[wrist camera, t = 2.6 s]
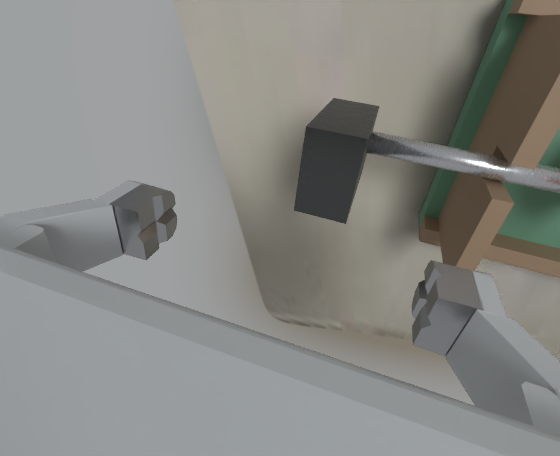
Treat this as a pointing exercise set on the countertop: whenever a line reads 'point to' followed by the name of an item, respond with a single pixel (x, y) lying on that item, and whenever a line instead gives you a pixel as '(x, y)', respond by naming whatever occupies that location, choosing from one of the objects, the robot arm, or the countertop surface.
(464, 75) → the countertop surface
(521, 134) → the pitch
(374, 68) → the countertop surface
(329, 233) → the countertop surface
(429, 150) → the rod
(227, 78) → the countertop surface
